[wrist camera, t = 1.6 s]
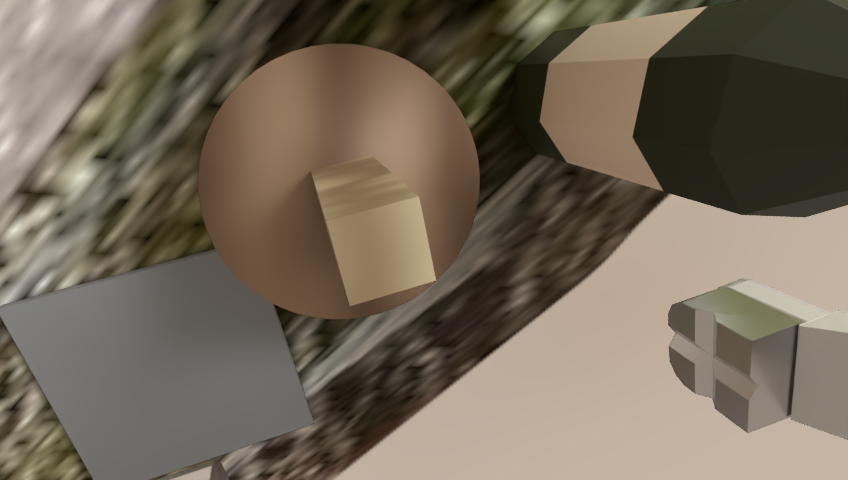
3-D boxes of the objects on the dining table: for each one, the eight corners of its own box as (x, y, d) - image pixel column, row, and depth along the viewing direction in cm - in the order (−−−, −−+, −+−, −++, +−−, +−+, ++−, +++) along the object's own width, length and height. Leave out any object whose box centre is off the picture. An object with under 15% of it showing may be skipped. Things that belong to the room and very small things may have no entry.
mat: (252, 239, 31) (251, 241, 30) (313, 418, 36) (313, 423, 35) (2, 305, 28) (-4, 309, 28) (105, 488, 33) (102, 495, 33)
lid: (449, 19, 24) (552, -16, 15) (489, 271, 29) (586, 361, 20) (155, 78, 22) (63, 78, 12) (253, 342, 26) (237, 483, 17)
